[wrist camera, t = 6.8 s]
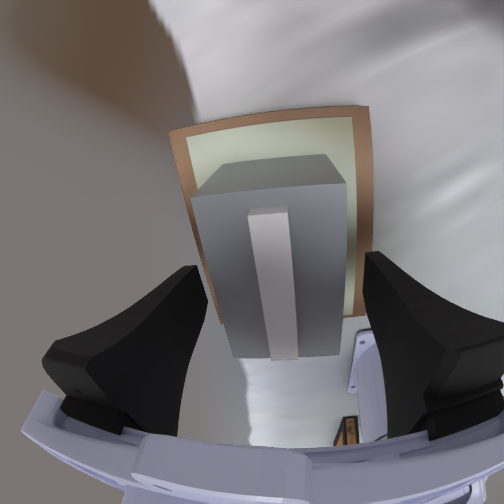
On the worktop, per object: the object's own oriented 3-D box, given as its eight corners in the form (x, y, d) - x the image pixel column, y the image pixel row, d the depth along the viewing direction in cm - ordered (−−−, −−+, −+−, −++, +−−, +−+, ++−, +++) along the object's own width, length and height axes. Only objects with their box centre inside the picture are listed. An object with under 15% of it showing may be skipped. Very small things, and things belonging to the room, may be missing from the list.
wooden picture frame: (360, 296, 19) (366, 318, 17) (226, 305, 21) (220, 326, 19) (358, 105, 13) (370, 106, 11) (181, 127, 15) (166, 132, 13)
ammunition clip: (344, 442, 34) (345, 509, 24) (333, 443, 34) (332, 510, 24) (357, 415, 28) (362, 500, 18) (343, 416, 29) (345, 502, 19)
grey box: (325, 153, 12) (350, 189, 8) (329, 289, 16) (340, 364, 11) (222, 164, 13) (184, 204, 8) (247, 294, 17) (232, 367, 12)
